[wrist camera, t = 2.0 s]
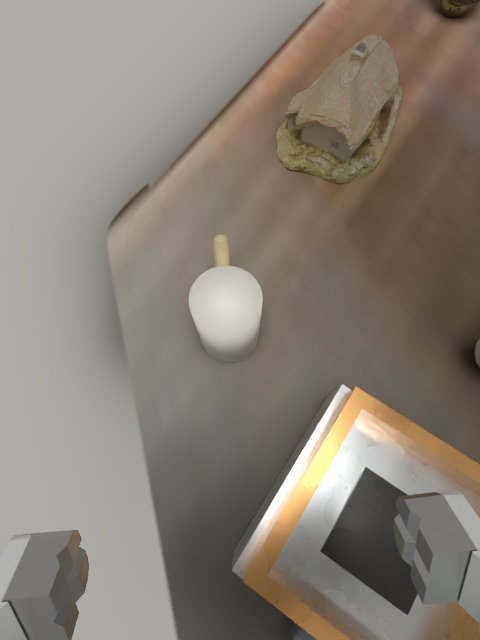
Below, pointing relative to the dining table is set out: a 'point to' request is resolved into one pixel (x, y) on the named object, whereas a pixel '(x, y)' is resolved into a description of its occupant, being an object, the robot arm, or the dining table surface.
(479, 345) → the donut
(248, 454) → the dining table surface
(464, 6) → the cup
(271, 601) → the white orange open box
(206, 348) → the spout can
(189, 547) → the dining table surface
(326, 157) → the ceramic model
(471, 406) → the dining table surface
